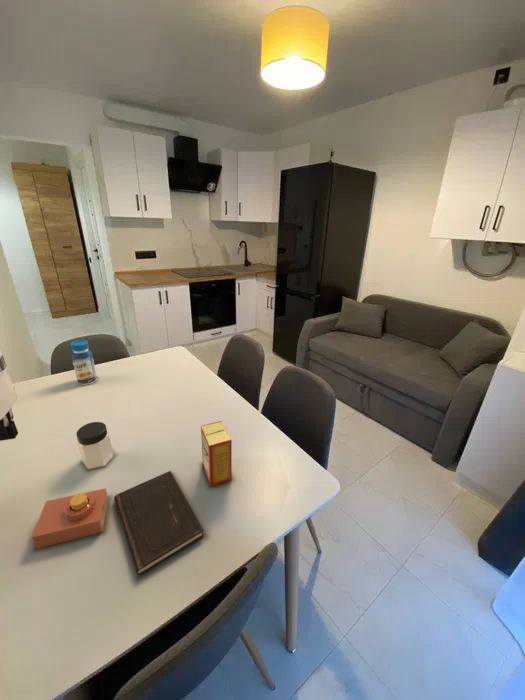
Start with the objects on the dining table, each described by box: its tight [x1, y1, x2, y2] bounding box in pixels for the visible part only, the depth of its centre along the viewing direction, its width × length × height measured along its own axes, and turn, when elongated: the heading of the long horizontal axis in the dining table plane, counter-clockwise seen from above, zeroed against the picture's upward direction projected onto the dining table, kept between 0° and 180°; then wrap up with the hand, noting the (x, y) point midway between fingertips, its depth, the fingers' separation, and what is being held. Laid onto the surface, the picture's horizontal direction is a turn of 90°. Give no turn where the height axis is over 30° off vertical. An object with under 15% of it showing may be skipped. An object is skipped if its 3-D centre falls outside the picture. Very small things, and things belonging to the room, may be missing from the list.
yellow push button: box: [70, 492, 88, 511], centre depth 73 cm, size 4×4×2 cm
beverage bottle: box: [70, 339, 98, 386], centre depth 135 cm, size 8×8×20 cm
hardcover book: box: [114, 470, 205, 576], centre depth 77 cm, size 16×23×2 cm
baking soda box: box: [200, 420, 233, 487], centre depth 89 cm, size 10×6×16 cm
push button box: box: [31, 487, 109, 549], centre depth 74 cm, size 14×10×6 cm
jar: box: [76, 421, 114, 470], centre depth 92 cm, size 9×8×12 cm
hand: (9, 437), depth 67 cm, fingers closed
